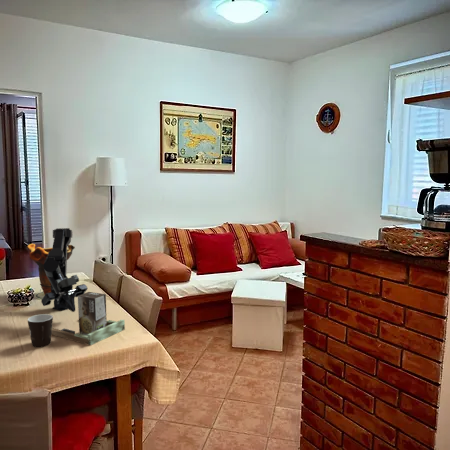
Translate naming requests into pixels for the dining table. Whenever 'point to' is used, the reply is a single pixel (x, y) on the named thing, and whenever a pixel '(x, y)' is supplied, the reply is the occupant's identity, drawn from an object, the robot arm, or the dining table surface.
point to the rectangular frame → (92, 337)
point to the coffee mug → (40, 329)
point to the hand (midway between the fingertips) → (74, 311)
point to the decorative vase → (39, 258)
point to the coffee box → (91, 312)
